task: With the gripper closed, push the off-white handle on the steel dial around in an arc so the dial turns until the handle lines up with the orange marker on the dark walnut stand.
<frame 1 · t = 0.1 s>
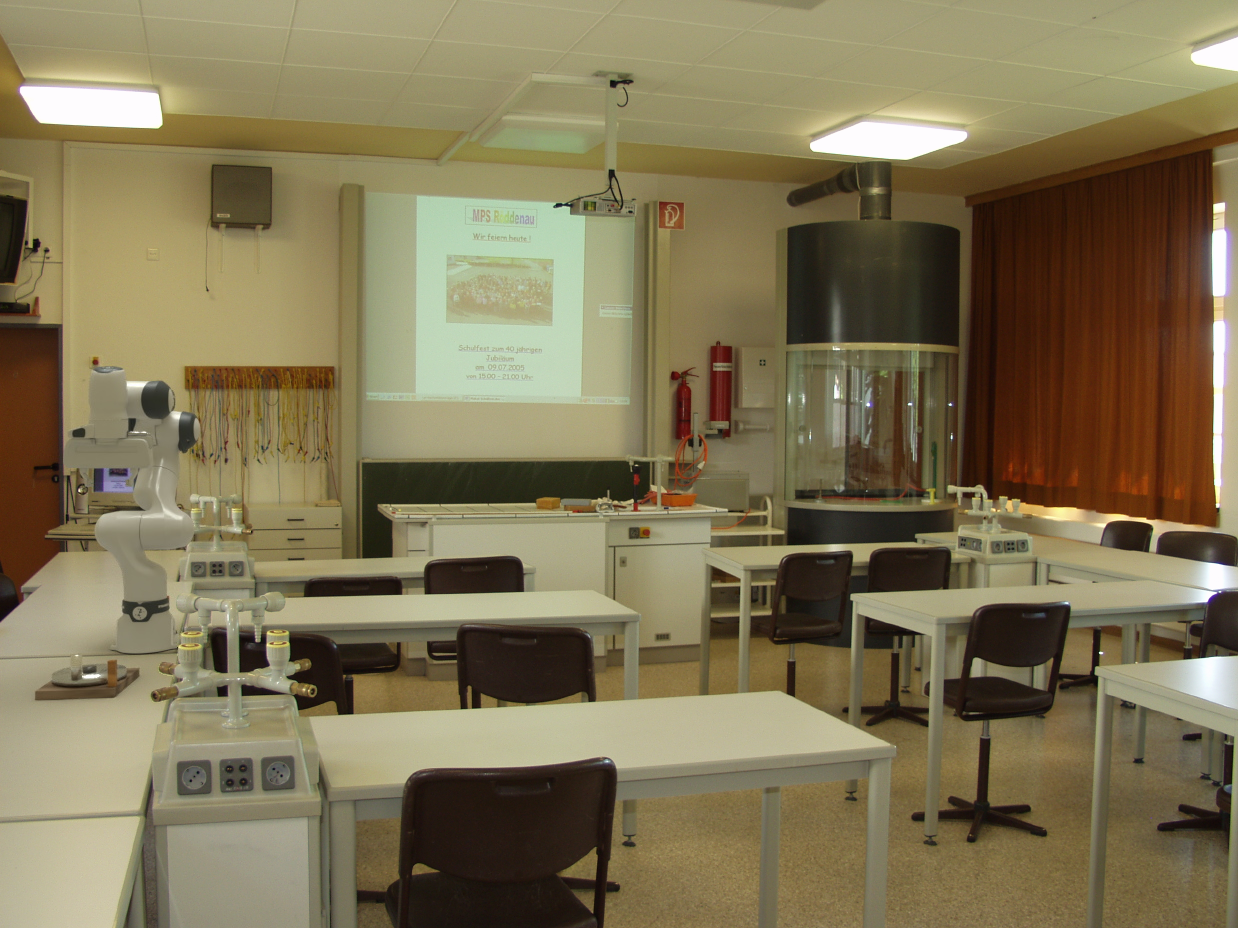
hand: (109, 486, 252), 48 cm above the table, fingers open, 8 cm apart
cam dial: (89, 662, 243), point 6 cm above the table, hinge at -5.0°
level stand: (89, 687, 243), on the table
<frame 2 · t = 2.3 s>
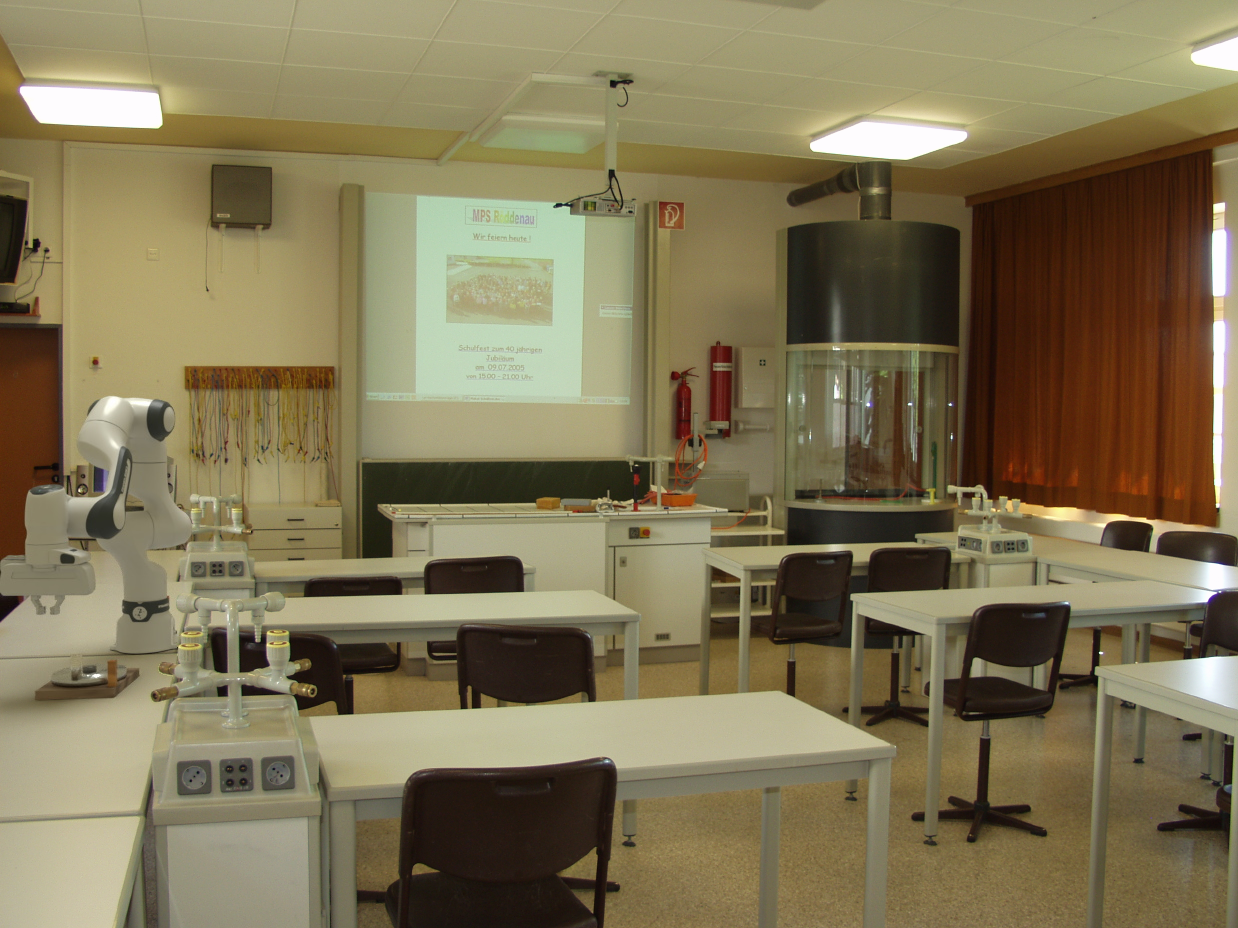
hand: (48, 614, 235), 19 cm above the table, fingers closed
nothing on the table moved.
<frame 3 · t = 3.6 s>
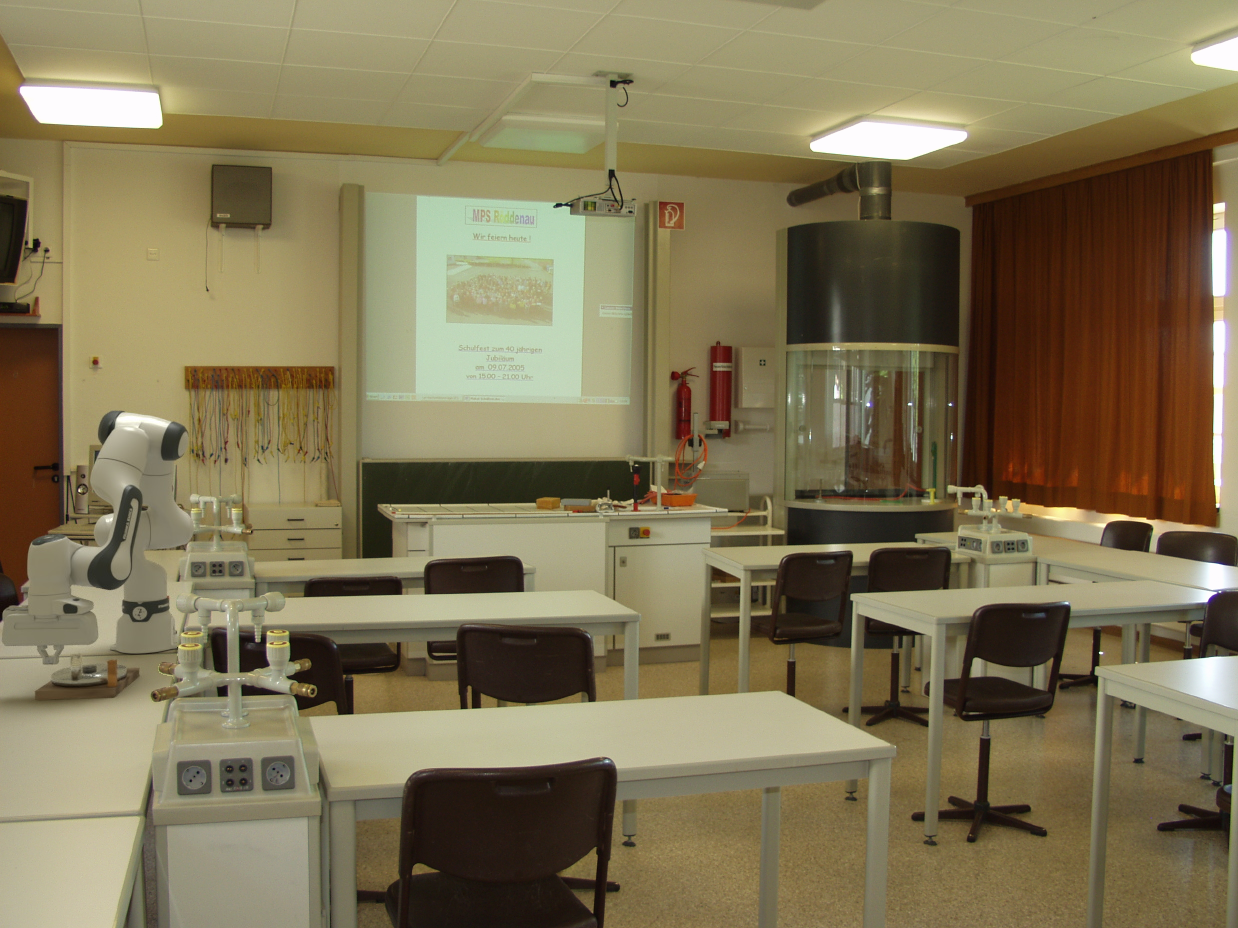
hand: (50, 663, 235), 7 cm above the table, fingers closed
nothing on the table moved.
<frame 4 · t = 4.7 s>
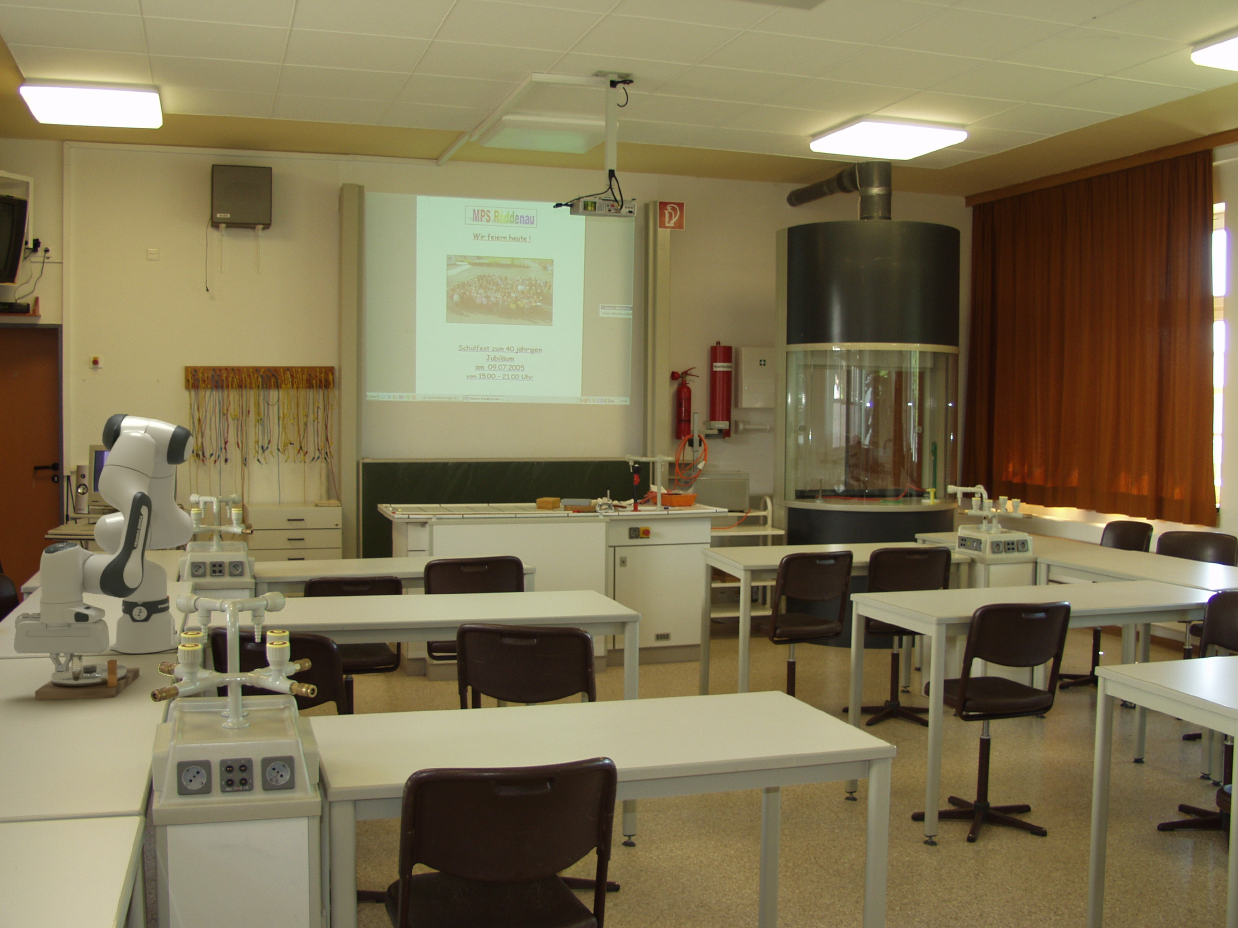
hand: (62, 671, 236), 6 cm above the table, fingers closed
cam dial: (89, 662, 243), point 6 cm above the table, hinge at -3.2°, touching gripper
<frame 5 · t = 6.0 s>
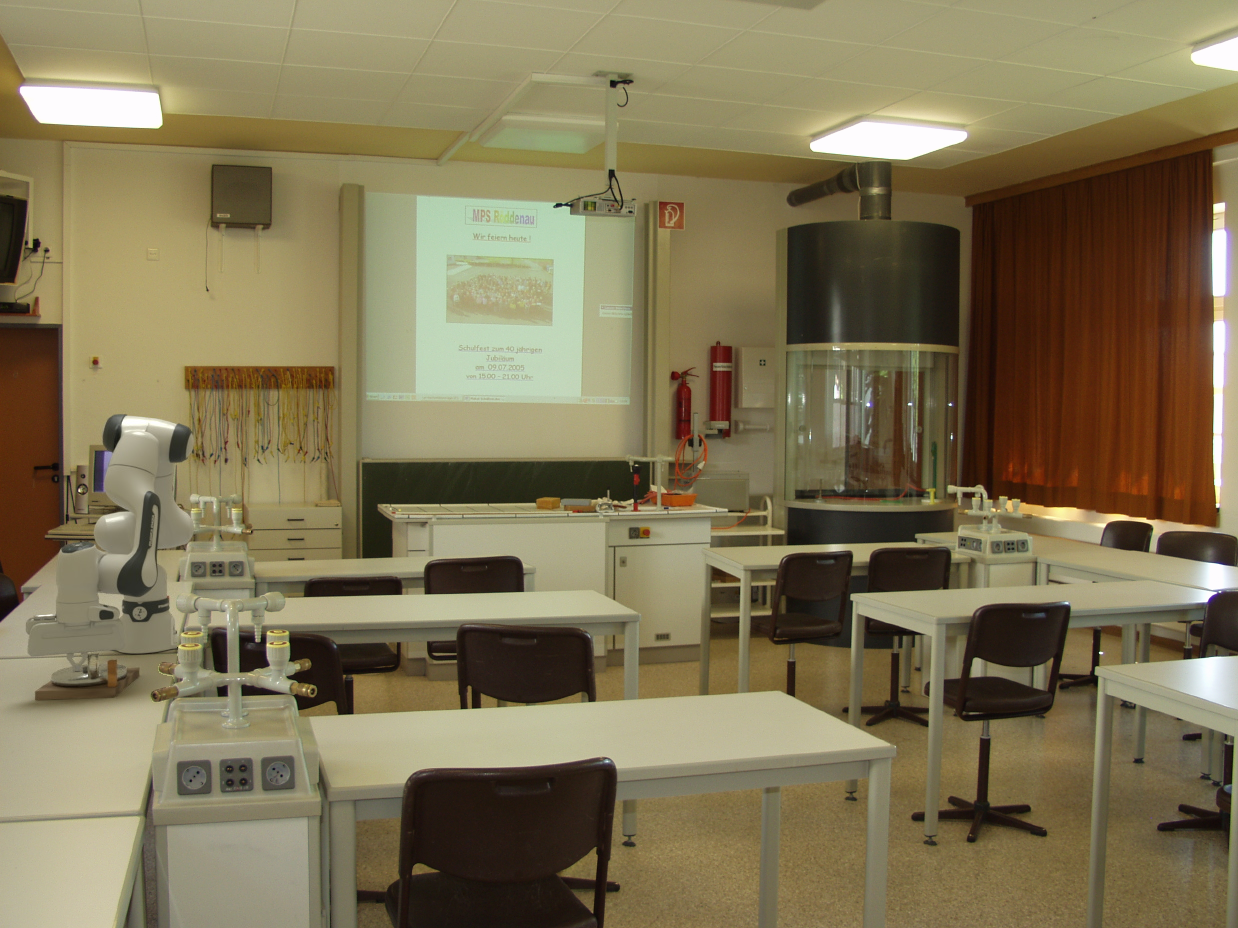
hand: (77, 671, 235), 6 cm above the table, fingers closed
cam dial: (89, 662, 243), point 6 cm above the table, hinge at 24.1°, touching gripper
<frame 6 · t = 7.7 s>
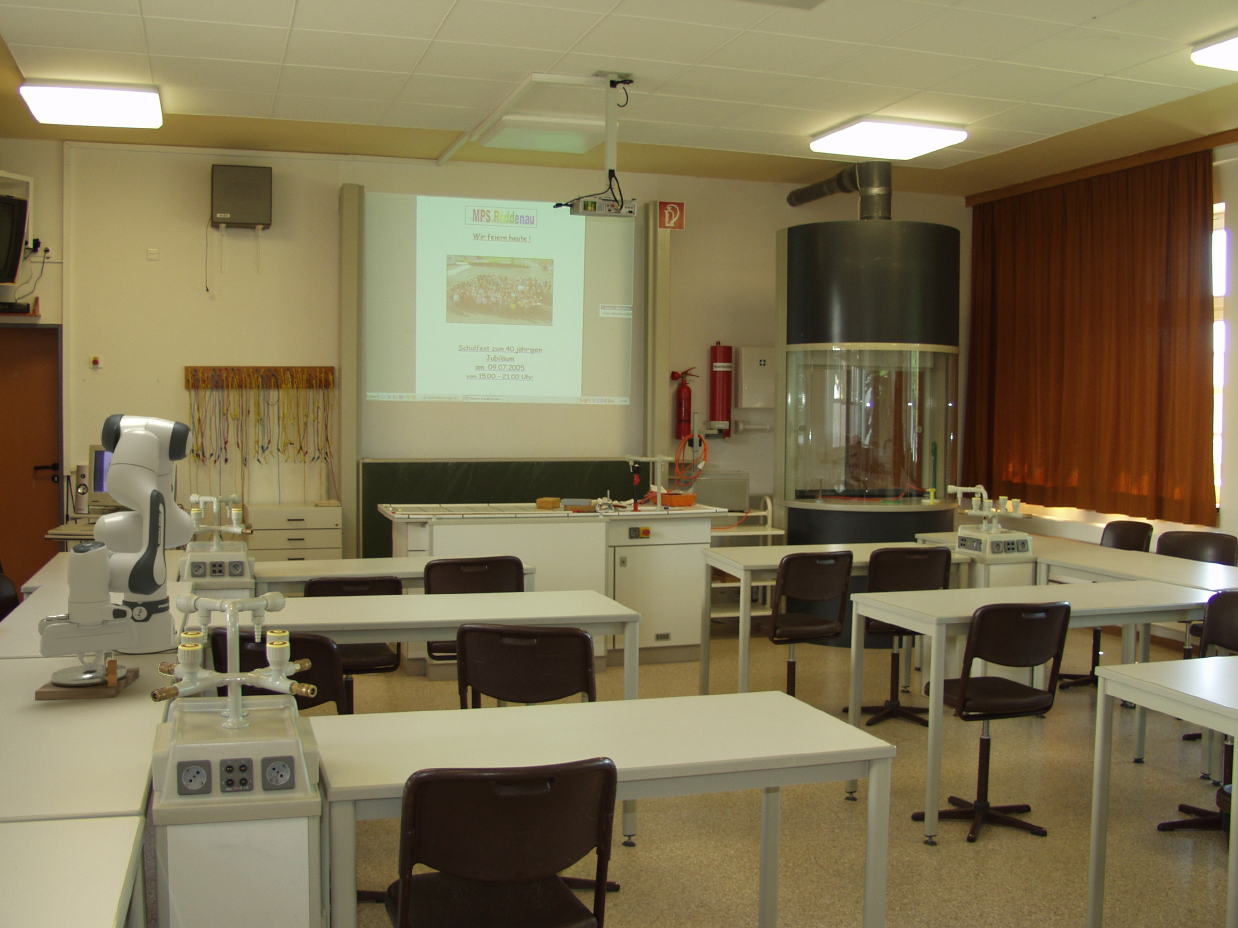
hand: (90, 670, 236), 6 cm above the table, fingers closed
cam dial: (89, 662, 243), point 6 cm above the table, hinge at 51.6°
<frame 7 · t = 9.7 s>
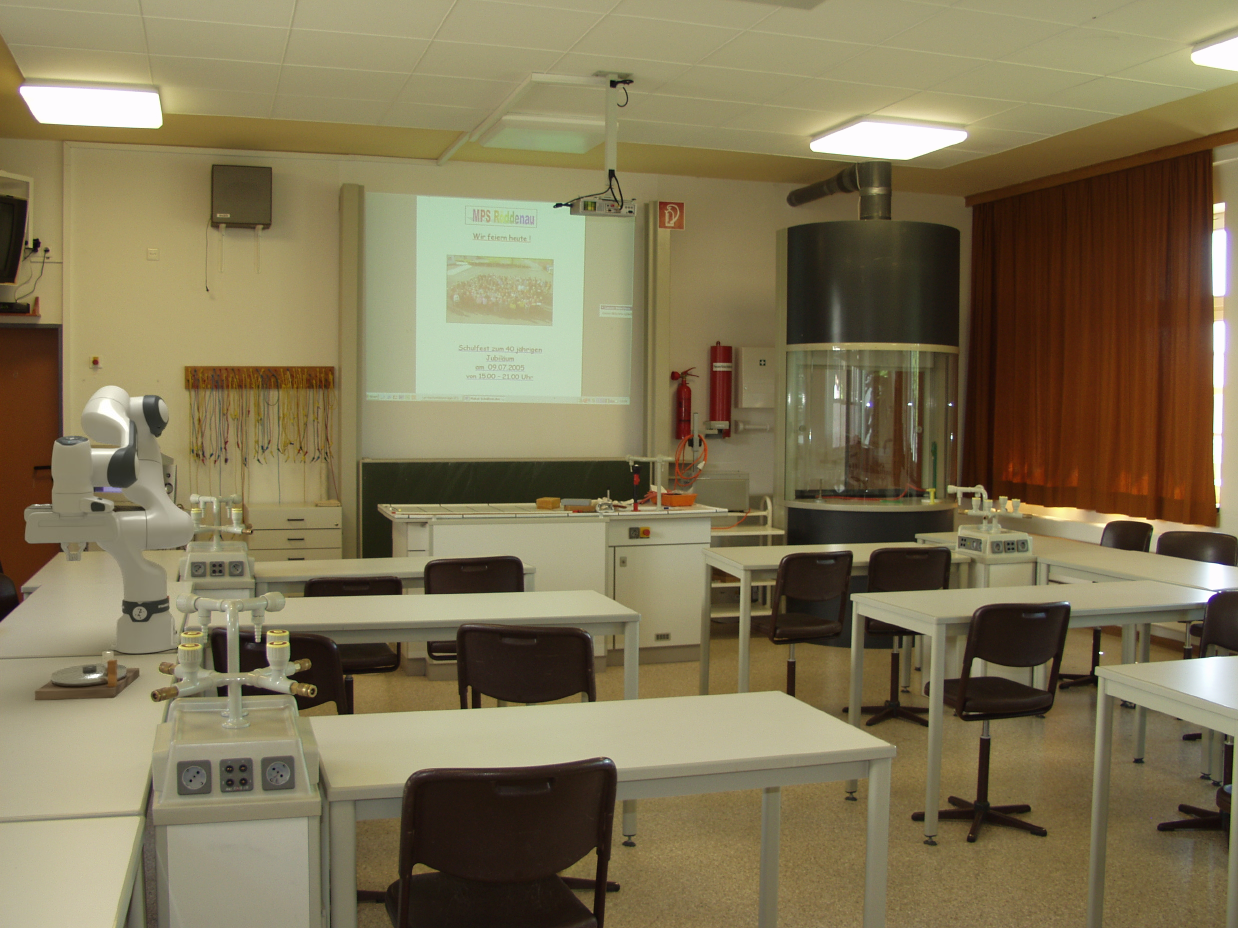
hand: (73, 560, 244), 30 cm above the table, fingers closed
nothing on the table moved.
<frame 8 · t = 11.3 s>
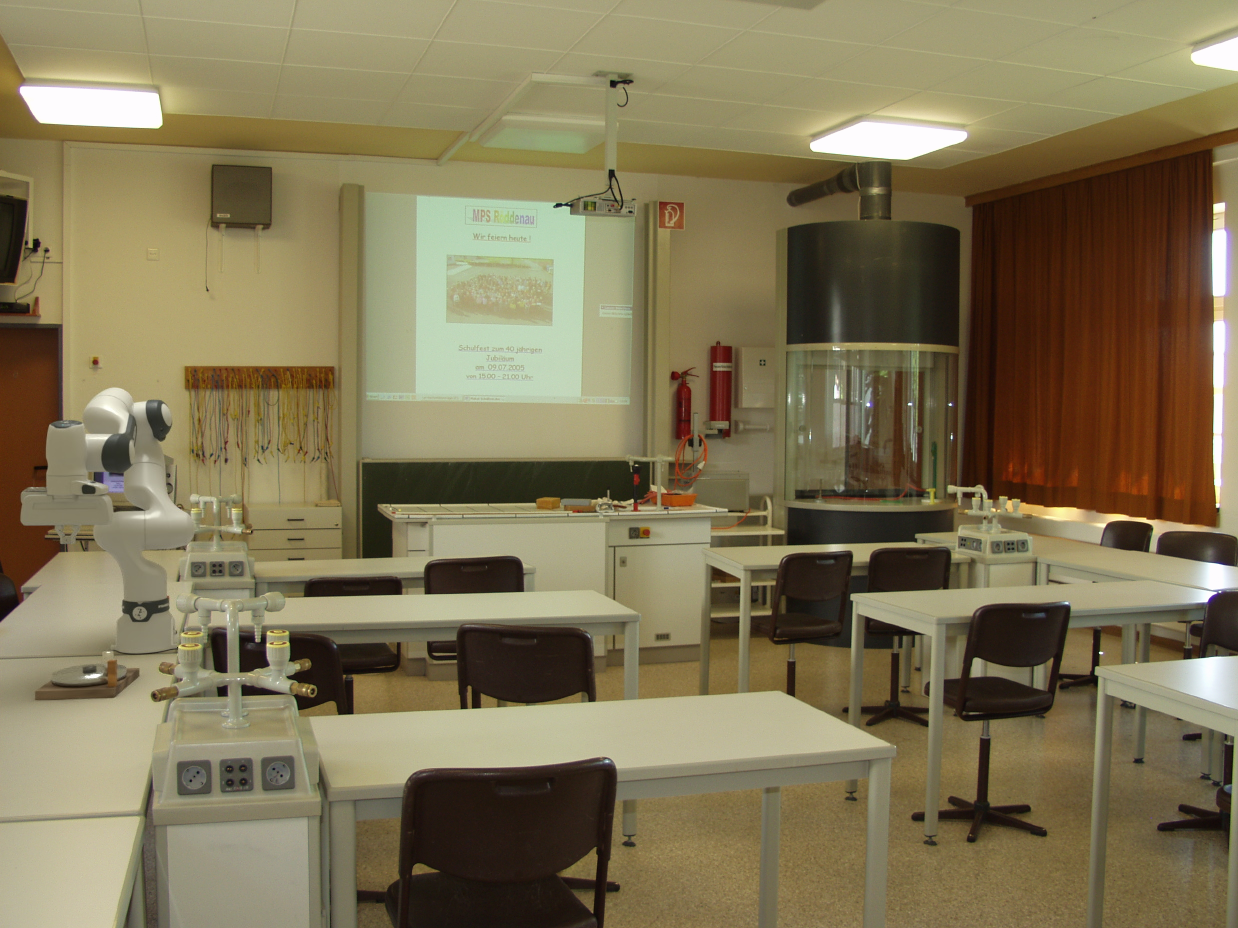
hand: (67, 543, 246), 34 cm above the table, fingers closed
nothing on the table moved.
at the end: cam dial at +52° (first picture: -5°) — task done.
